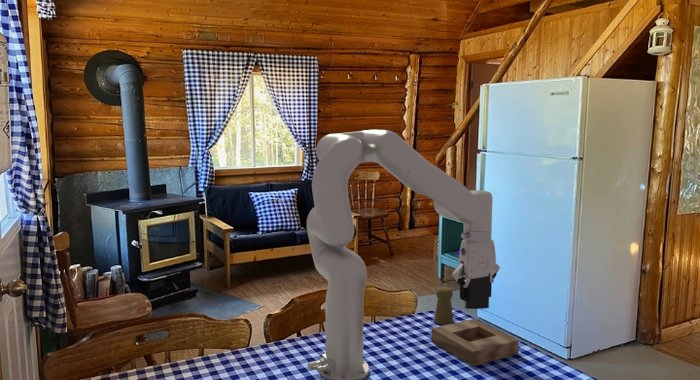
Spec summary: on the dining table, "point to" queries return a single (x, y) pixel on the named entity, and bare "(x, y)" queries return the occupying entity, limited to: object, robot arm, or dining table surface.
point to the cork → (444, 306)
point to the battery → (478, 293)
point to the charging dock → (475, 341)
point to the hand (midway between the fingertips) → (475, 297)
